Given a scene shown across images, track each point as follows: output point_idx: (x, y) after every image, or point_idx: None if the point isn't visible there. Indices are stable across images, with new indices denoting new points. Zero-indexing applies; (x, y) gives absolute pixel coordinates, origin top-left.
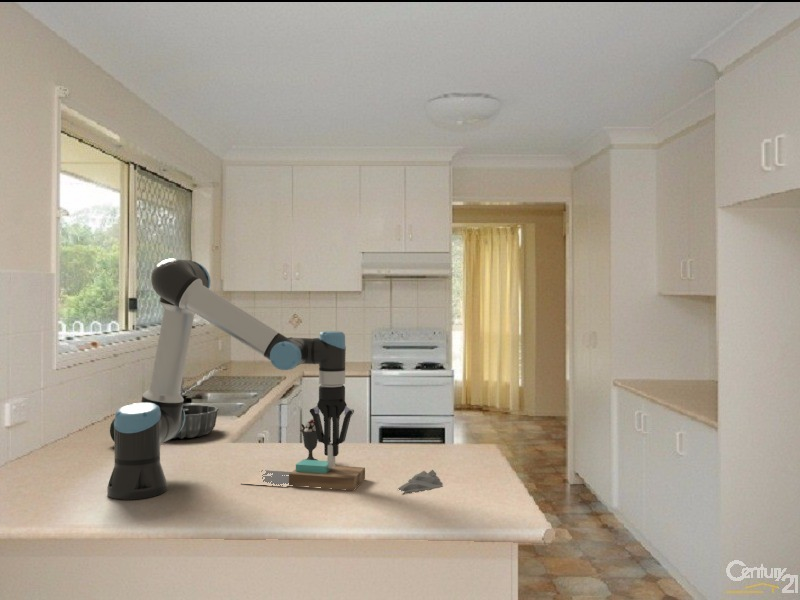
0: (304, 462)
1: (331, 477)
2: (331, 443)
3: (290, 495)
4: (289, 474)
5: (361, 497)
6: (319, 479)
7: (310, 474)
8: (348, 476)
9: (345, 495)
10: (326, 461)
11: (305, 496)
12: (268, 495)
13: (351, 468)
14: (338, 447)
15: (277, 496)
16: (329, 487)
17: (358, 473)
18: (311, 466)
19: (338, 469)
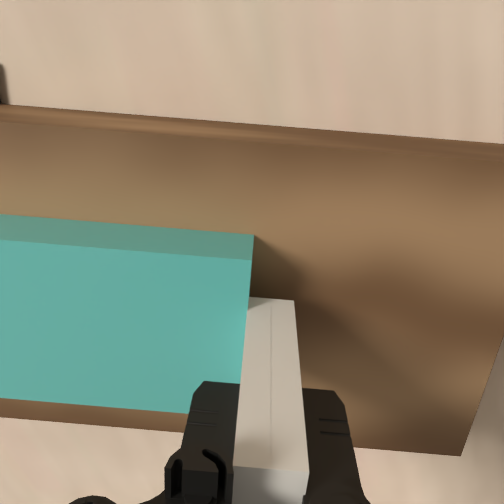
0: (14, 333)
1: None
2: (251, 479)
3: (121, 483)
4: (5, 415)
5: (480, 476)
6: None
7: (145, 411)
8: (421, 423)
9: (394, 459)
10: (196, 272)
11: None
12: (21, 492)
13: (429, 216)
14: (355, 461)
15: (69, 499)
16: None
17: (495, 351)
18: (119, 403)
19: (317, 266)
